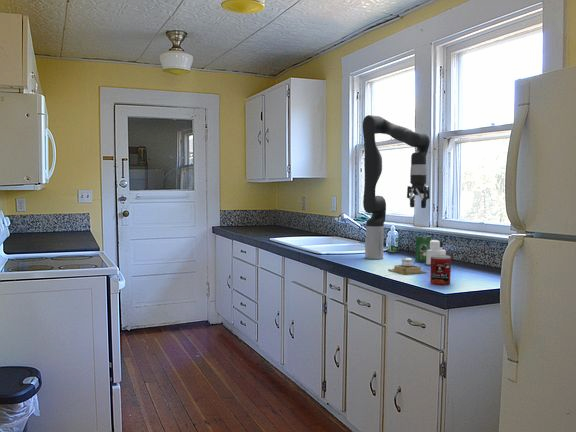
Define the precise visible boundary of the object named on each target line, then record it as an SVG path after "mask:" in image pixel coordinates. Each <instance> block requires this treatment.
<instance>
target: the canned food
mask: <svg viewBox="0 0 576 432" xmlns="http://www.w3.org/2000/svg"><path fill="white" fill-rule="evenodd" d="M451 263H452V257H451V255H432V256H431V265H430V279H429V280H430V284H431V285H434V286H448V285H450V284H451V271H452V267H451V266H452V264H451Z"/></svg>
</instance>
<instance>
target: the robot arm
mask: <svg viewBox="0 0 576 432" xmlns="http://www.w3.org/2000/svg"><path fill="white" fill-rule="evenodd" d="M362 134H363V135H362V137H363V147H364V148H363V149H364V165H363V167H364V186H363V187H364V189H363V190H364V191H363V198H362V199H363V201H362V203H363V204H362V206H363V209H364V211H365V213H367V214H371V217H369V219H367V220H366V223H365V242H364V243H365V244H364V249H365V250H364V258H365V259H369V260H383V259H384V238H385V237H384V236H385V234H384V231H385V230H384V229H385V226H384V225H385V224H384V223H385V221H386V215H387V214H386V212H387V203H386V202H387V201H386V199H385V197H383V195H382V196H381V195H376V187H377V184H378V182H379V179H380V177H381V175H382V172H383V156H382V154H381V152H380V150H379V148H378V146H377V143H376V135H377V134H383V135H388V136H390V137H391V138H393V139H394V140H396V141H399V142H401V143H404V144H406V145H408V146H410V147H413V148H416V151H415V152H412V154H411V157H410V174H409V175H410V177H409V178H410V179H409V180H410V181H409V183H410V184H411V185H408V186H407V189H406V190H407V192H406V198H407V199H409V207H410V208H415V205H416V203H415V202H416V201H415V199H416V197H417V196H418V197H420V199H421V200H420V203H421V204H420V208H421V209H425V208H426V207H427V200H429V199H430V197H431V196H430V186H428V185H426V184H427V155H428V151H429V147H430V143H431V141H430V136H429V135H428V134H427V133H425V132H417V131H413V130H411V129H409V128H408V127H404V126H402V125H401V126H400V125H398V124H395V123H393V122H390V121H389V120H387V119H385V118H384V117H382V116H380V115H373V114H372V115H371V114H370V115H369V114H368V115H366V116H364V118H363V120H362Z"/></svg>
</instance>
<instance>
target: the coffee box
mask: <svg viewBox="0 0 576 432" xmlns="http://www.w3.org/2000/svg"><path fill="white" fill-rule="evenodd" d="M431 240H432V236H431V235H422V236H421V235H420V236H419V235H417V236H415V255H414V256H415V257H414V258H415V259H414V260H415V263H423V262H425V263H426V251H427V250H430V241H431Z"/></svg>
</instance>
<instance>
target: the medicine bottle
mask: <svg viewBox="0 0 576 432" xmlns="http://www.w3.org/2000/svg"><path fill="white" fill-rule="evenodd" d="M443 243H444V242H443V240H440V239H431V241H430V250H427V251H426V262H425V264H426V265H427V266H428V265H429V266H431V256H432V255H446V254H447V250H446V249H443V248H444V247H443V245H444V244H443Z"/></svg>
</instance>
